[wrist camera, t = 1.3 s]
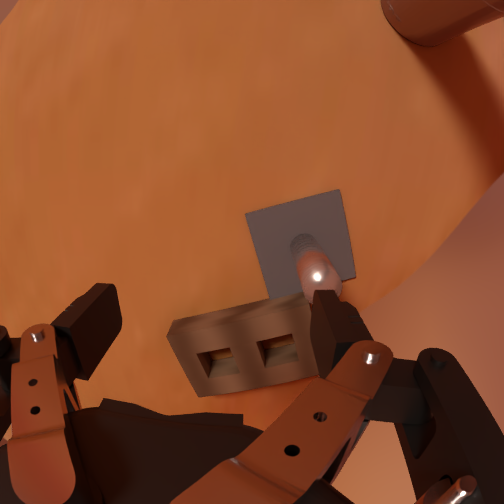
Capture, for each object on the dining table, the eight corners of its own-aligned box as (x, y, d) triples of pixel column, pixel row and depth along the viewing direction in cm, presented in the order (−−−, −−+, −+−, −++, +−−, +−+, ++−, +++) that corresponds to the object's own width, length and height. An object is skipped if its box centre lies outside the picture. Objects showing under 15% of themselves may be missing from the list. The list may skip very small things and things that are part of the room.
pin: (314, 230, 31) (338, 265, 22) (320, 256, 32) (344, 300, 23) (287, 237, 32) (299, 275, 22) (293, 263, 32) (307, 310, 23)
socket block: (304, 289, 34) (309, 304, 30) (319, 355, 37) (324, 373, 34) (173, 320, 35) (166, 336, 32) (202, 379, 39) (198, 397, 35)
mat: (338, 189, 30) (339, 189, 30) (354, 275, 33) (355, 276, 33) (245, 213, 31) (245, 214, 31) (270, 298, 34) (270, 299, 34)
